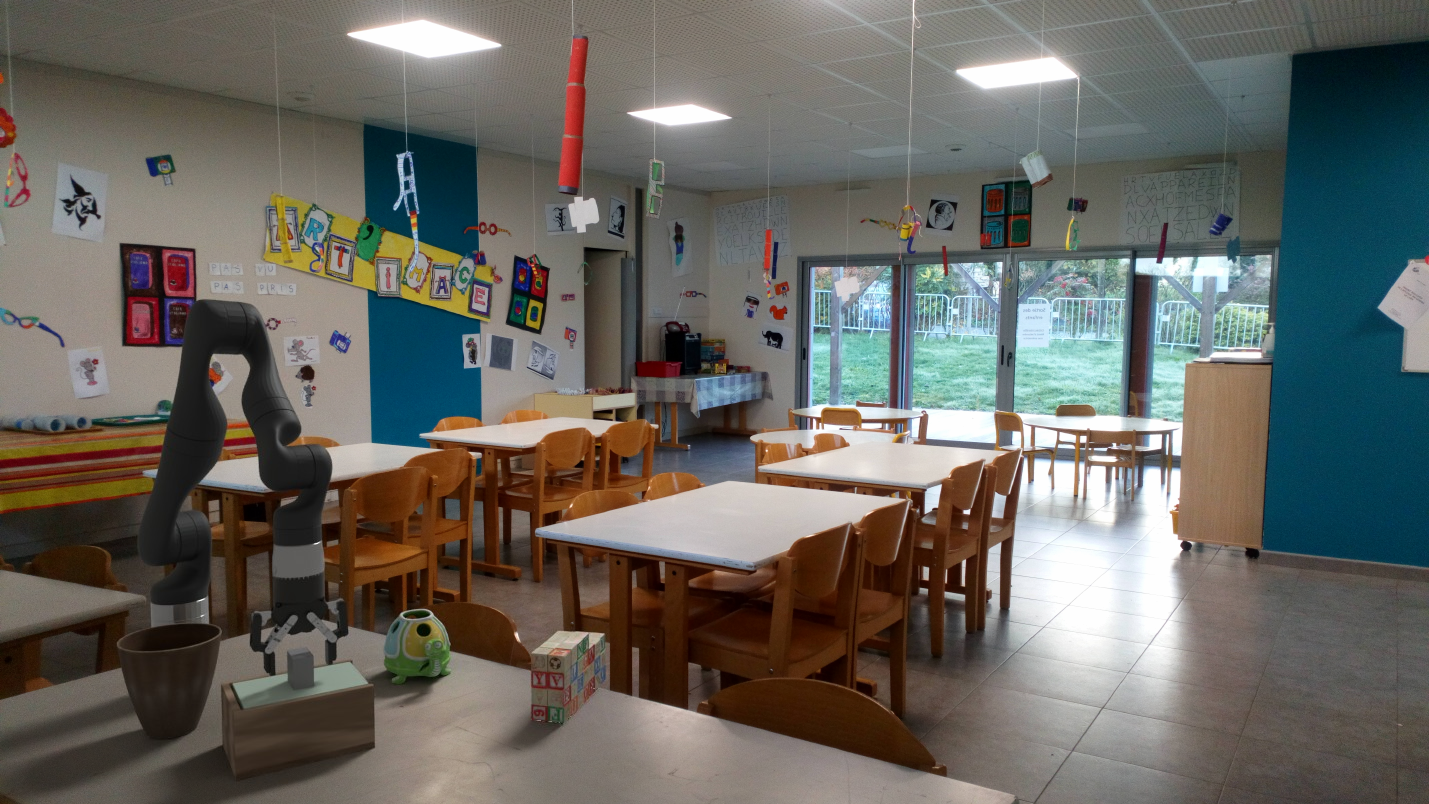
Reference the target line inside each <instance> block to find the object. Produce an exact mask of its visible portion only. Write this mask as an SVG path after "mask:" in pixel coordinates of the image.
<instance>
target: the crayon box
mask: <svg viewBox="0 0 1429 804" xmlns="http://www.w3.org/2000/svg"><path fill="white" fill-rule="evenodd" d="M345 662H351V663H352V665H353V666H354V664H353V663H354V662H353V659H352V658H349V659H343V660H338V661H333V665H335V664H340V663H345ZM324 666H329V665H327V664H326V663H322V664H321V663H320V664H316V665H315V664H314V668H318V667H324ZM286 673H287V670H284V671H283V670H282V671H279V672H277V671H276V674H275V675H281V674H286ZM264 677H270V675H269V673H266V674H262V675H256V676H251V677H246V678H239V679H234V680H230V681H229V680H228V681H224V682H220V695H221V696H220V699H221V700H220V701H221V732H222V733H221V735H222V739H221V741H222V743H221V744H222V747H223V749H224V752H225V755H226V758H227V760H228V762H229V765H230V769H231V771H232V773H233V775H234V778H235V779H234V780H235V781H240V780H245V779H248V778H253V777H257V776H261V775H266V774H271V773H273V772H279V771H281V770H282V771H283V770H286V769H292V768H295V767H298V766H303V765H308V764H311V763H316V762H319V761H324V760H328V759H331V758H336V757H340V756H344V755H348V754H352V753H357V752H361V751H364V750H365V751H366V750H370V749H373V748H376V735H375V734H376V731H375V720H376V719H375V714H376V713H375V685H374V684H373V683H369V684H368V685H363V686H358V687H353V688H348V689H343V690H338V691H333V692H328V693H323V694H318V695H313V696H308V697H303V698H298V699H293V700H288V701H283V702H278V703H273V704H268V705H263V706H259V707H254V708H249V709H244V710H241V708H240V705H239V703H238V701H237V699H236V697H235V694H234V692H233V683H237V682H243V681H248V680H254V679H259V678H264Z"/></svg>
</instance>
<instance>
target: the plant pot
mask: <svg viewBox="0 0 1429 804" xmlns="http://www.w3.org/2000/svg"><path fill="white" fill-rule="evenodd" d="M221 638H222V628H221V627H220V626H218V625H215V624H212V623H209V624H207V623H177V624H168V625H161V626H156V627H151V626H150V627H148V628H144V629H139V630H136V631H134V632H131V633H128V634H126V635H124V636H123V637H121V638H119V640H117V642H116V648H117V653H118V657H119V663H120V668H121V672H122V676H123V679H124V680H123V681H124V683H125V686H126V691H127V693H128V695H129V699H130V701H131V705H132V708H133V709H134V712H135V714H136V717H137V719H138V721H139V724H140V725H141V727H142V730H143V731H144V733H145V735H146V736H147V738H150V739H154V740H155V739H156V740H162V739H163V740H164V739H171V738H172V739H173V738H178V737H181V736H185V735H186V734H187V735H188V734H190V733H192V732H193V731H194V730H195V729H197V727H198V725H199V722H200V719H201V717H202V715H203V711H204V710H205V707H206V704H207V702H208V701H207V700H208V697H209V695H210V691H211V688H212V684H213V680H214V676H215V672H216V668H217V663H218V659H219V654H220V653H219V652H220V646H221Z"/></svg>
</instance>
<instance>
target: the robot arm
mask: <svg viewBox="0 0 1429 804" xmlns="http://www.w3.org/2000/svg"><path fill="white" fill-rule="evenodd" d="M186 316H187V317H186V319H185V324H184V329H183V330H184V332H183V335H182V345H181V356H180V364H179V371H178V376H177V381H176V387H175V390H174V391H175V392H174V397H173V401H172V406H171V409H170V413H169V417H168V420H167V424H166V429H165V431H164V432H165V433H164V437H163V444H162V447H161V453H160V457H159V458H160V459H159V463H158V467H157V471H156V475H155V479H154V483H153V485H152V486H153V487H152V488H151V489H152V490H151V492H150V495H149V498H148V501H147V504H146V506H145V510H144V512H143V515H142V518H141V521H140V525H139V528H138V533H137V546H136V547H137V552H138V556H139V558H140V560H141V561H142V562H143V564H145V565H147V566H149V567H164V566H169V565H173V564H176V566H175V568H173V570H172V571H170V573H168V575H166V576H165V577H164V578H162V579H160V580H159V581H157V582H155V583H154V584H153V585H152V586H151V588H150V591H149V593H150V595H149V597H150V598H149V599H150V600H149V601H150V619H151V620H150V623H151V626H150V628H151V627H156V626H161V625H168V624H177V623H207V624H210V616H209V615H210V612H209V586H210V583H211V578H212V552H213V551H212V549H213V535H212V527H211V524H210V522H209V519H208V517H207V515H206V514H205V513H204V512H202V511H200V510H197V509H190V510H182V511H181V508H182V506H183V504H184V503H185V501H186V499H187V498H188V496H189V495H190V494H191V493H192V492H193V490H194V489H195V488H197V486H198V485H199V484H200V483H201V482H202V481H203V480H204V479H205V478H206V476H207V475H209V474H210V472H211V470H213V468H214V467H215V466H216V464H217V463H218V461H219V460H220V457H221V455H222V452H223V448H224V444H225V439H226V435H227V431H228V419H227V416H226V415H227V414H226V413H225V410H224V408H223V405H222V404H221V402H220V400H219V398H218V396H217V395H216V393H215V391H214V389H213V386H212V382H211V379H210V368H211V367H210V366H211V360H212V357H213V355H231V356H232V355H233V356H239V355H241V356H243V357H244V359H245V360H246V361H247V364H248V366H249V372H248V375H247V378H246V380H245V384H244V387H243V389H242V392H241V408H242V412H243V415H244V416H245V418H246V421H247V423H248V426H249V428H250V431H251V432H252V434H253V436H254V439H255V446H256V450H257V459H258V474H259V479H260V481H261V482H262V484H263V485H264V486H265V487H266V488H267V489H269V490H271V491H273V492H276V493H277V492H278V493H280V492H288V491H289V492H290V491H291V492H292V491H296V490H298V491H299V490H300V491H299V493H298V496H297V497H296V498H295V500H293V501H290V502H288V503H286V504H284V505H281V506H279V507H278V508H276V509H275V510H274V512H273V516H272V517H273V518H272V525H273V527H272V530H273V531H272V533H273V535H272V536H273V537H272V538H273V549H272V550H273V551H272V558H271V559H272V560H271V561H272V562H271V564H272V565H271V566H272V568H271V569H272V570H271V571H272V572H271V573H272V601H273V604H272V607H271V610H264V611H259V610H257V609H254V610H253V611H251V613H250V626H249V627H250V628H249V629H250V631H249V647H250V649H251V650H252V652H254V653H263V657H262V658H263V669H264V671H265V673H266V674H269V675H270V676H275V674H276V673H277V671H276V652H275V651H274V650H275V649H276V648H277V646H278V645H279V644H280V643H281V642H282V641H283V640H284V638H285V637H286V636H287V635H290V636H295V635H298V634H300V633H307V634H309V633H312V631H315V629H317V630H318V631H319V632H320V633H321V634H322V635H323V636H324V637H325V638H326V639H325V640H324V657H325V658H324V659H325V664H327V665H333V662H337V661H336V660H337V657H338V653H337V642H338V640H339V639H341V638H343V637H344V638H345V637H347V636H348V635H349V621H348V611H347V609H348V608H347V602H346V601H345V600H344V599H343V598H341V597H336V598H335V600H332V601H326V595H325V593H326V591H325V589H326V588H325V587H326V586H325V585H326V584H325V567H326V561H325V553H324V547H323V540H322V539H323V534H322V533H323V531H322V525H323V524H322V522H323V521H322V515H323V510H324V505H325V503H326V497H327V494H328V491H329V487H330V483H331V480H332V476H333V475H332V474H333V459H332V457H331V454H330V452H329V451H328V449H326V447H324V446H323V445H321V444H317V443H307V444H298V445H297V444H296V445H295V444H294V445H291V444H292V443H294V442H295V441H297V439H299V437H300V435H301V434H302V429H303V428H302V425H301V421H300V419H299V417H298V414H297V412H296V411H295V408H294V407H293V405H292V403H291V401H290V399H289V397H288V395H287V393H286V391H285V388H284V386H283V383H282V380H281V378H280V374H279V371H278V370H279V369H278V366H277V362H276V357H275V354H274V351H273V347H272V343H271V340H270V336H269V334H268V330H267V326H266V323H265V321H264V318H263V316H262V314H261V312H260V311H259V309H258V308H257V307H256V306H255V305H253V304H251V303H248V302H244V301H236V300H235V301H233V300H224V299H223V300H219V299H209V298H202V299H201V298H200V299H197V300H196V301H194V302H193V303H192V305H191V306H190V307H189V310H188V313H187V315H186ZM329 610H330V611H331V613H332V614H334V615H335V617H336V618H335V619H336V628H335V629H334V630H331V629H330V628H329V627H328V626H327V624H326V623H324V622H323V621H322V620H323V619H324V617H325V615H327V613H328V611H329ZM270 619H271V621H273V622H274V623H275V625H274V626H273V628H272V630H271V631H270V632H269V633H270V634H269V635H268V636H267V638H266V640H265V641H262V629H263V628H262V627H264V626H266V625H267V621H268V620H270Z"/></svg>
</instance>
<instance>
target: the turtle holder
mask: <svg viewBox="0 0 1429 804" xmlns="http://www.w3.org/2000/svg"><path fill="white" fill-rule="evenodd" d="M411 616H414V617H415V618H413V619H412V618H408V617H411ZM449 639H450V638H449V635H448V633H447V630H446V627H445V625H444V624H443V622H441V621H440V620H439V619H438V618H437V617H436V616H435V615H434V613H433V612H432V611H431V610H429V609H426V608H418V609H411V610H410V609H409V610H405V611H402V612H401V613H400V614H399V615H398V616H397V618H396V619H395V620H394V621H393V622H392V623H391V625H390V627H389V628H388V631H387V634H386V637H385V642H384V646H383V654H384V660H383V664H384V665H383V666H384V668H385V669H386V670H387V671H389V672H390V673H392V674H395V675H396V676H394V677H392V678H391V683H392V684H394V683H396V684H395V685H403V684H404V683H405V682H406V680H407V678H408V677H420V676H422V677H429V678H434V677H437V676H438V675H439V674H440V676H447V675H450V674H451V672H452V669H451V667H447V665H448V664H449V663H450V661H451V653H450V651H451V650H450V649H451V648H450V647H451V642H450V640H449ZM402 683H403V684H402Z"/></svg>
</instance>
